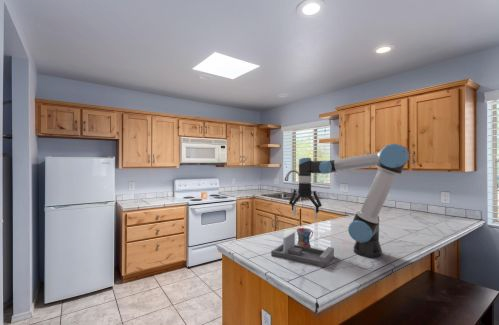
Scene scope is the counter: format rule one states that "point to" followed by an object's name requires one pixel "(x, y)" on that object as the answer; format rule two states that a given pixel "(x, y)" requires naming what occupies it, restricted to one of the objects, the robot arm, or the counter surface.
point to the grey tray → (307, 255)
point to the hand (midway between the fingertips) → (304, 216)
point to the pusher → (290, 245)
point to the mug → (304, 237)
